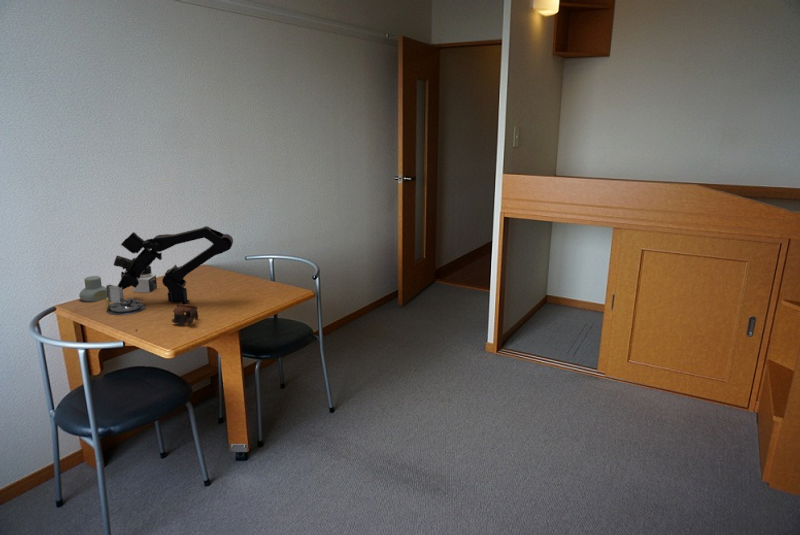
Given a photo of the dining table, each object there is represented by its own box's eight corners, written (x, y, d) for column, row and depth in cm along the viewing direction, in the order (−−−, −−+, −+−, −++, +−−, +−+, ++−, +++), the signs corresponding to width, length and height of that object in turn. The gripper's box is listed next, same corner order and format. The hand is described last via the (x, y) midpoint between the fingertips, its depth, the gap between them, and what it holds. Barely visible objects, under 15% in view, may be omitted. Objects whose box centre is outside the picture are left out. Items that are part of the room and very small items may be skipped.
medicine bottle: (150, 294, 239) (147, 268, 236) (133, 294, 239) (130, 267, 236) (157, 289, 246) (155, 263, 242) (141, 289, 246) (138, 263, 242)
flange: (153, 306, 224) (151, 292, 223) (133, 319, 211) (132, 303, 209) (119, 305, 226) (117, 290, 224) (97, 317, 212) (95, 301, 210)
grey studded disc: (148, 306, 220) (145, 286, 218) (124, 314, 211) (121, 294, 209) (122, 300, 226) (119, 281, 224) (98, 308, 216) (95, 288, 214)
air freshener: (101, 295, 237) (98, 273, 234) (113, 299, 233) (111, 276, 230) (76, 302, 227) (73, 279, 225) (89, 306, 224) (85, 282, 221)
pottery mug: (165, 325, 207) (169, 303, 209) (187, 329, 214) (192, 308, 216) (182, 324, 199) (187, 302, 201) (205, 329, 206) (209, 307, 208)
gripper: (125, 243, 226) (99, 273, 224) (124, 254, 209) (95, 285, 208) (149, 260, 231) (123, 289, 229) (150, 271, 214) (122, 302, 213)
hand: (116, 291), depth 220 cm, fingers closed
